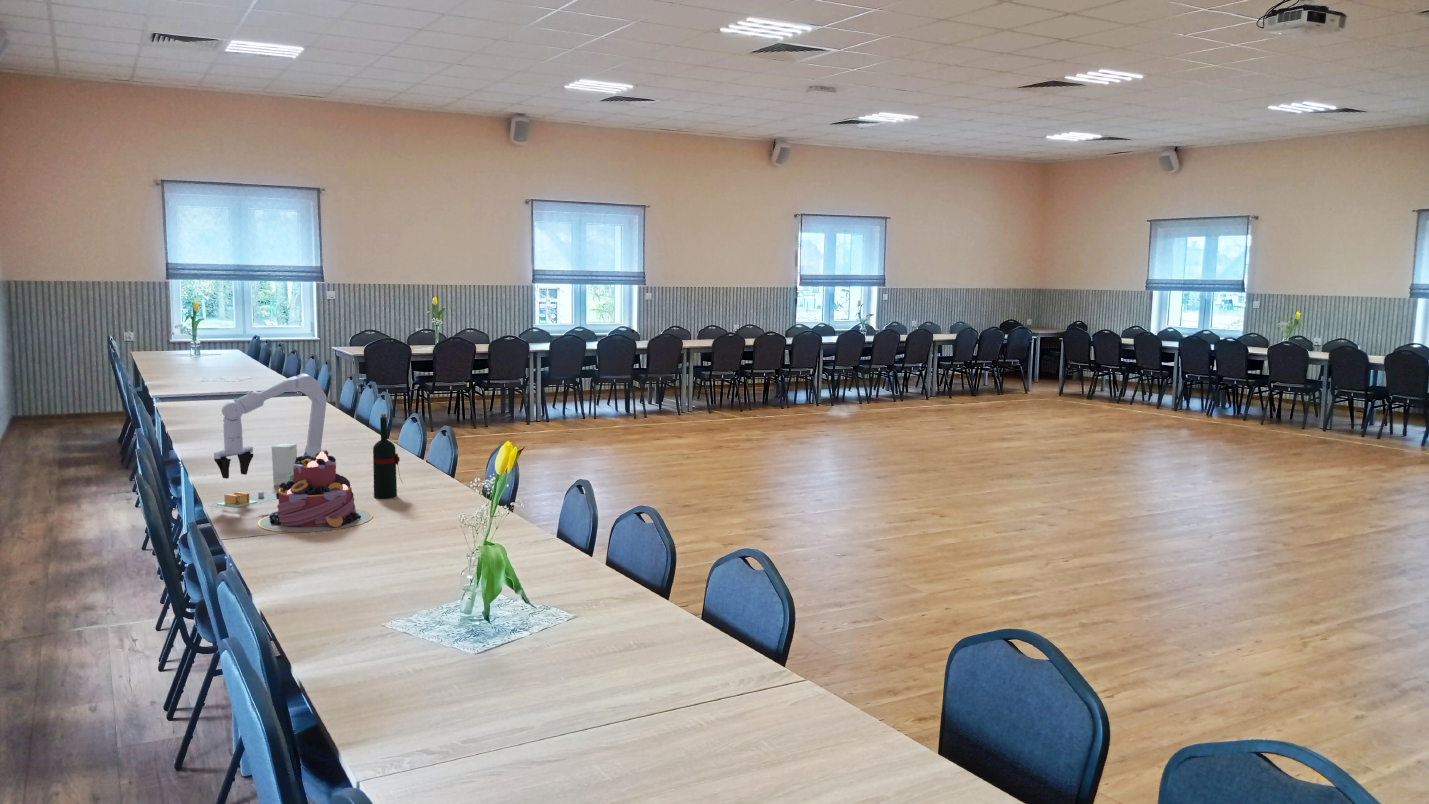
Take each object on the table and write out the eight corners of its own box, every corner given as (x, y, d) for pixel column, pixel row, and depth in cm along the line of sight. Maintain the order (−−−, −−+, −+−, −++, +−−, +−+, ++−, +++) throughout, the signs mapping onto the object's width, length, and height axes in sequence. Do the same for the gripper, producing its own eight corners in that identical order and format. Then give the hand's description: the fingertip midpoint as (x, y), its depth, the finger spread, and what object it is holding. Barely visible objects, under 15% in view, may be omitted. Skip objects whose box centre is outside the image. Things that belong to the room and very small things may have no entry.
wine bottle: (404, 497, 367) (402, 414, 363) (374, 499, 364) (372, 415, 360) (402, 493, 374) (401, 412, 371) (373, 495, 371) (371, 412, 367)
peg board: (289, 498, 363) (289, 490, 363) (232, 512, 342) (232, 503, 341) (264, 495, 368) (264, 486, 368) (207, 508, 347) (206, 499, 346)
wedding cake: (249, 536, 313) (246, 463, 310) (266, 510, 346) (263, 444, 343) (370, 530, 322) (368, 459, 319) (375, 505, 356) (373, 441, 353)
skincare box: (289, 488, 380) (288, 446, 378) (271, 488, 380) (270, 446, 378) (299, 483, 388) (297, 443, 386) (281, 483, 388) (280, 442, 387)
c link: (249, 502, 351) (249, 493, 351) (237, 504, 347) (237, 496, 346) (236, 500, 354) (236, 491, 353) (224, 503, 349) (224, 494, 349)
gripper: (242, 433, 358) (243, 471, 360) (206, 439, 345) (208, 478, 347) (256, 434, 355) (258, 473, 357) (221, 440, 342) (223, 480, 344)
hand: (234, 476), depth 352 cm, fingers open, 7 cm apart
